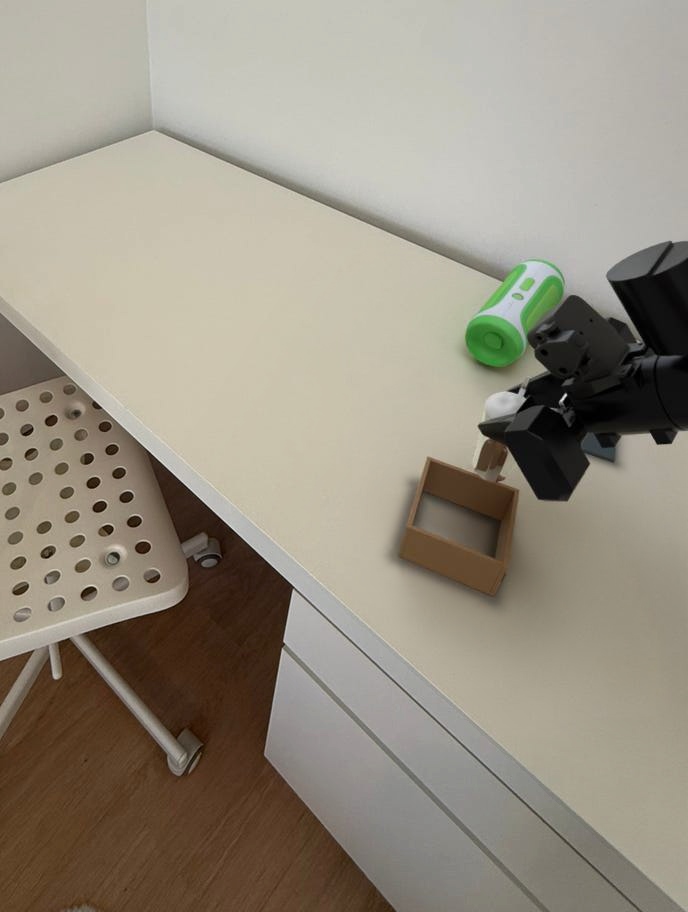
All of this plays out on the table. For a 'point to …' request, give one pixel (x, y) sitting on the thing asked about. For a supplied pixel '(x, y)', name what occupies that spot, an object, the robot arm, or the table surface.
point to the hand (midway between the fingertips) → (494, 412)
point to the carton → (449, 554)
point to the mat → (596, 447)
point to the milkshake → (489, 454)
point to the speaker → (514, 312)
